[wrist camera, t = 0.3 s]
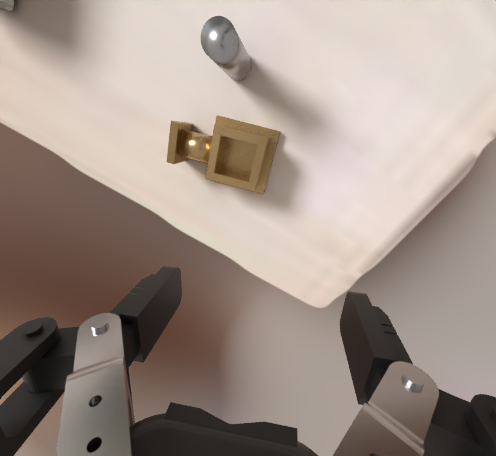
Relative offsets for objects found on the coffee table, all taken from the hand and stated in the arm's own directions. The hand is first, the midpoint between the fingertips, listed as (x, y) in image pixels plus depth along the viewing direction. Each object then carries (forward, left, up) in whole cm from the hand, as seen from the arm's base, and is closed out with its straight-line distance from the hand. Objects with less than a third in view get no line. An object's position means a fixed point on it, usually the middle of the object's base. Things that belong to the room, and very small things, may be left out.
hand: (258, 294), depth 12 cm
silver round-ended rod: (-14, -9, -27) cm, 32 cm away
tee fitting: (-3, -9, -27) cm, 29 cm away
